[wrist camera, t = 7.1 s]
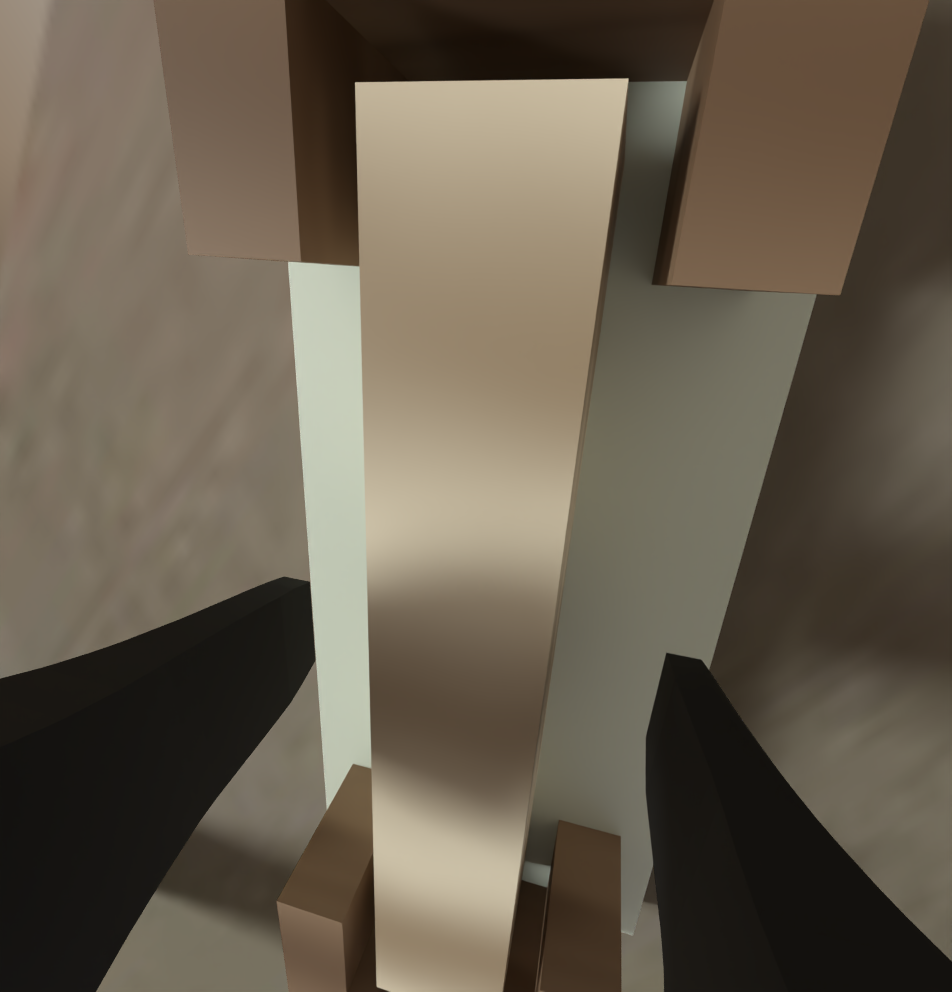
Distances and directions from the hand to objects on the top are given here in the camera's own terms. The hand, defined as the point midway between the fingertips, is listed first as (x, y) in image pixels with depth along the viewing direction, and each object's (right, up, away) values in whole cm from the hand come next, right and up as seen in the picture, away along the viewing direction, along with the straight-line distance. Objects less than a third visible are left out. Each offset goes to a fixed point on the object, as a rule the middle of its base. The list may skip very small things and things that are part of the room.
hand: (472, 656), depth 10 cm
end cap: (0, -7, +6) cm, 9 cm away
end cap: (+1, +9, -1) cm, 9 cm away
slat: (+1, +1, +2) cm, 2 cm away
